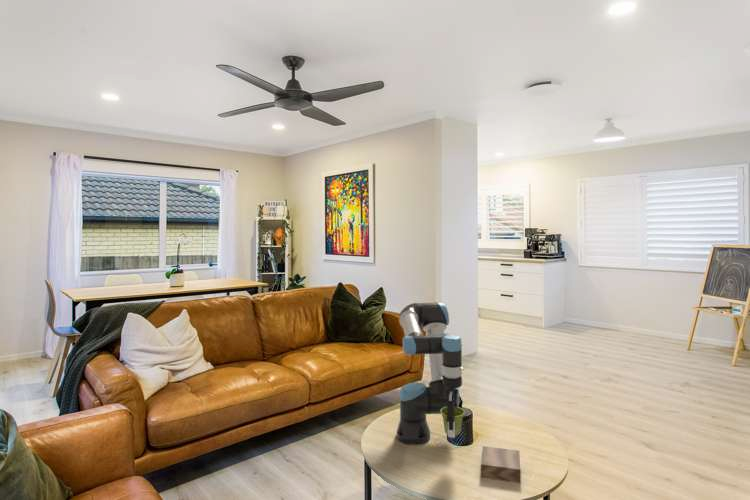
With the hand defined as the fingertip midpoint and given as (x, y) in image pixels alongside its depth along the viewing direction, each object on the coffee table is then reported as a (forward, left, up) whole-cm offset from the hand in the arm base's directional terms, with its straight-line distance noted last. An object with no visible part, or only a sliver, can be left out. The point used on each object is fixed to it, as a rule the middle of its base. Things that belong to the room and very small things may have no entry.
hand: (452, 431), depth 168 cm
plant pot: (0, 0, -1) cm, 0 cm away
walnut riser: (+18, 0, -13) cm, 22 cm away
